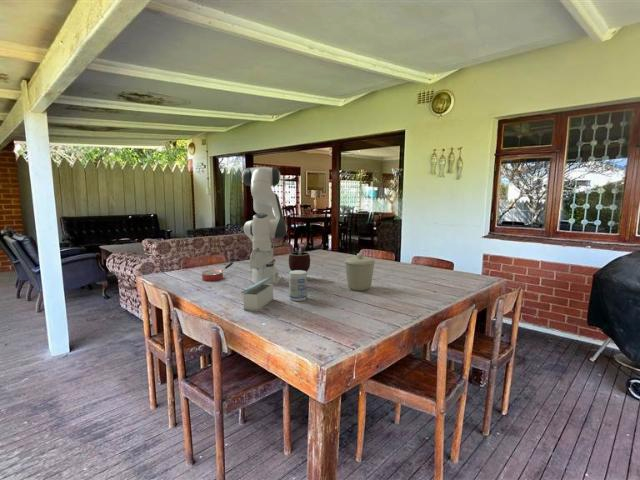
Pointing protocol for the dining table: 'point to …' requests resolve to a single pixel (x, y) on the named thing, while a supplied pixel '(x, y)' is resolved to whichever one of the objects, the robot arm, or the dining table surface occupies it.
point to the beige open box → (258, 297)
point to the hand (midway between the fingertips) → (262, 274)
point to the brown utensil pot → (299, 261)
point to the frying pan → (214, 274)
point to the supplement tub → (297, 285)
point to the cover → (256, 285)
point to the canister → (359, 272)
